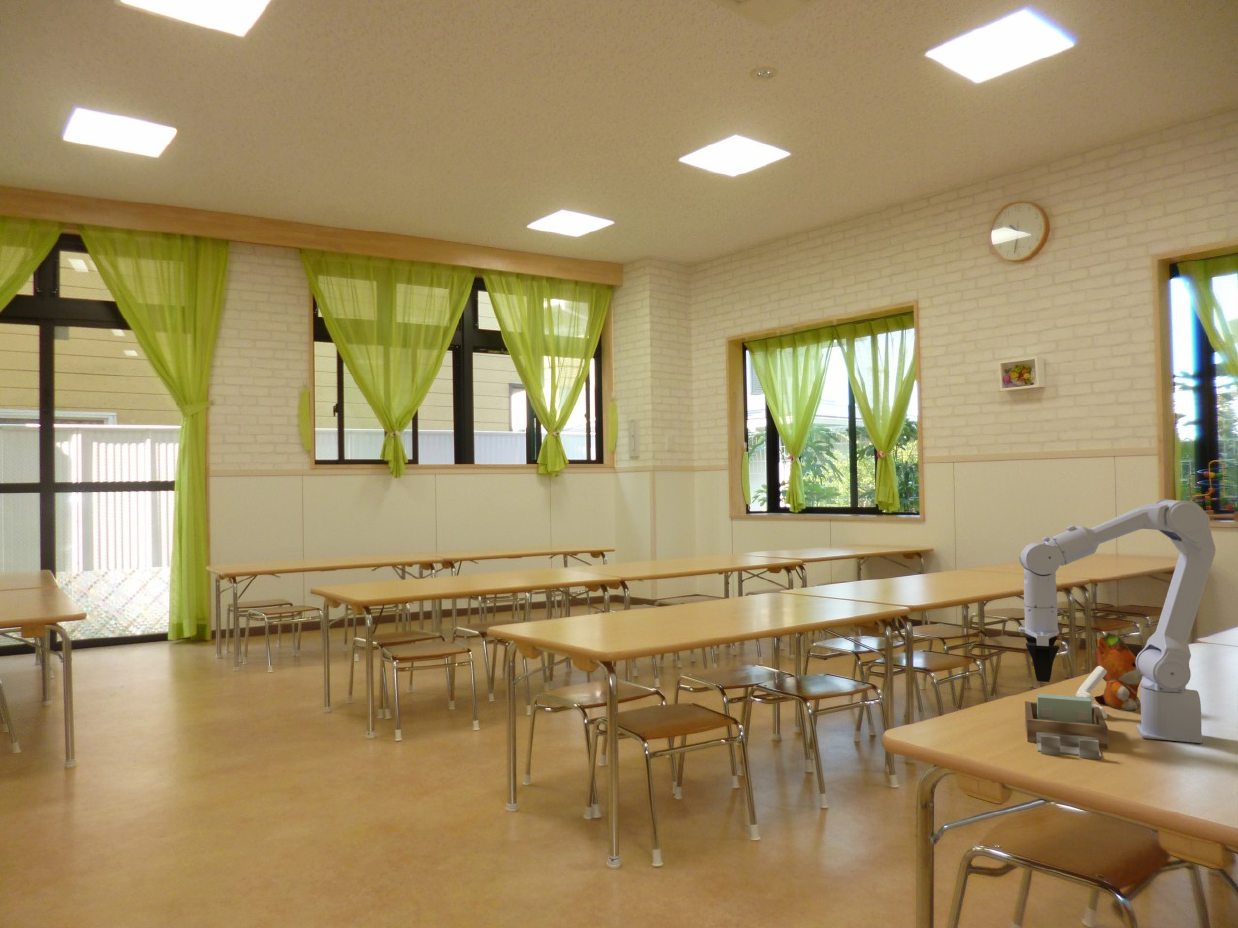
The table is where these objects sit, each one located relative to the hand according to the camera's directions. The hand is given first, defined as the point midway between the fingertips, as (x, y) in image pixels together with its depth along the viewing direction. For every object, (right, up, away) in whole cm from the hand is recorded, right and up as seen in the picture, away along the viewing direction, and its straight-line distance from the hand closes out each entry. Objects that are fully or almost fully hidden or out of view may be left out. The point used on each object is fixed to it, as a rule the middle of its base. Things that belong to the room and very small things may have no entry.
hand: (1042, 676), depth 170 cm
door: (+2, -9, -3) cm, 10 cm away
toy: (+24, -10, +17) cm, 31 cm away
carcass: (+1, -10, -6) cm, 12 cm away
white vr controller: (+14, -10, +10) cm, 20 cm away
